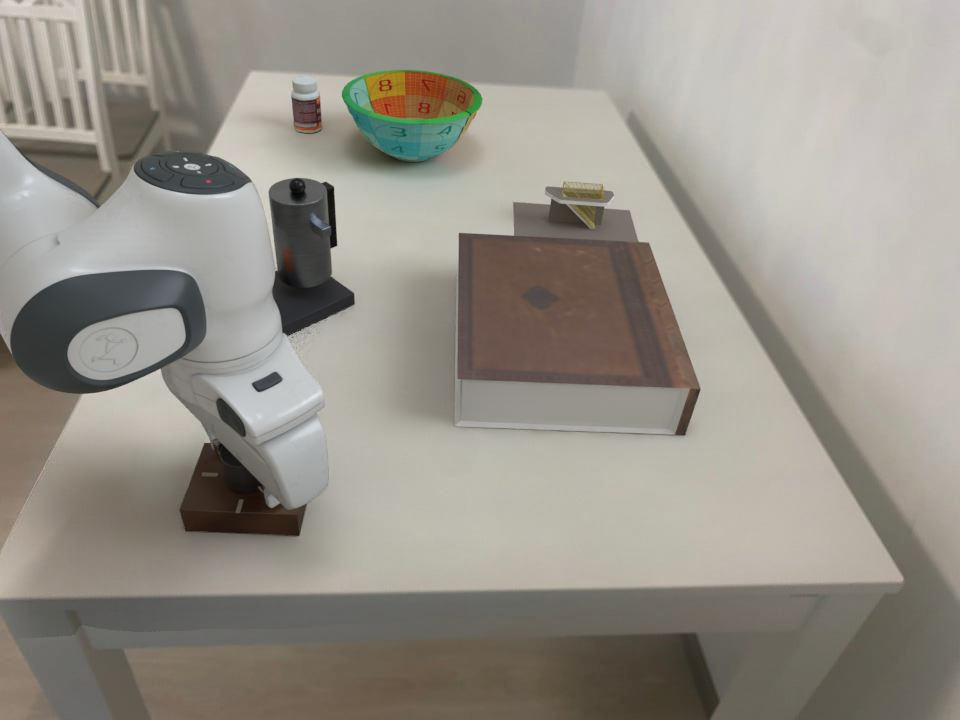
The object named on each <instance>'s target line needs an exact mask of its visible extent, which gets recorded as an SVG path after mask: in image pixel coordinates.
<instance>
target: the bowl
mask: <svg viewBox="0 0 960 720" xmlns="http://www.w3.org/2000/svg"><path fill="white" fill-rule="evenodd" d="M341 98H342V101H343V103H344V104H345V105H346V107H347V110H348V112H349V114H350V115H351V117H352V119H353V121H354V123H355V125H356V128H357V129H358V130H359V132H360V133H361V135H362V136H363V137H364V138H365V139H366V140H367V141H368V142H369V143H370V144H371V146H373V147H374V148H376V149H377V150H379V152H382V153H384V154H386V155H388V156H390V157H393V158H394V159H396V160H399V161H402V162H408V163H420V162H421V163H422V162H426V161H428V160H430V159H431V158H435V157H437V156H440V155H442V154H444V153H445V152H447V151H449V150H450V149H452V148H453V147H454V146H455V145H457V143H458V142H459V141H460V140H461V139H462V138H463V137H464V135H465V134H466V133H467V132H468V129H469V128H470V125H471V124H472V121H474V119H475V117H476V116H477V113H478V111H479V110H480V109H481V107H482V105H483V97H482V94H481V92H480V91H479V90H478V89H477V88H476V87H474V85H471V84H470V83H468V82H466V81H464V80H463V79H460V78H457V77H454V76H451V75H449V74H444V73H439V72H435V71H429V70H428V71H427V70H419V69H391V70H381V71H376V72H371V73H365V74H363V75H361V76H358V77H356V78H354V79H351V80H350V81H349V82H347V83H346V84H345V85H344V87H343V88H342V90H341Z"/></svg>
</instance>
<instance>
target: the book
mask: <svg viewBox="0 0 960 720" xmlns="http://www.w3.org/2000/svg"><path fill="white" fill-rule="evenodd" d="M457 262H458V266H457V267H458V270H457V271H458V272H457V273H458V274H457V275H456V276H455V336H454V337H455V338H454V340H455V341H454V343H455V344H454V354H455V355H454V417H453V418H454V419H453V420H454V421H453V422H454V425H453V426H454V427H459V428H483V429H484V428H485V429H513V430H537V431H538V430H539V431H566V432H567V431H568V432H592V433H617V434H618V433H619V434H620V433H622V434H646V435H647V434H649V435H670V436H671V435H673V436H674V435H676V436H686V434H687V431H688V428H689V425H690V422H691V419H692V416H693V414H694V410H695V408H696V404H697V403H698V402H697V401H698V400H699V395H700V393H701V391H702V390H701V389H702V388H701V386H700V382H699V380H698V377H697V374H696V371H695V368H694V365H693V363H692V361H691V357H690V354H689V352H688V349H687V346H686V343H685V340H684V337H683V335H682V331H681V329H680V326H679V324H678V323H679V322H678V320H677V318H676V314H675V311H674V309H673V307H672V304H671V301H670V298H669V295H668V292H667V289H666V287H665V285H664V281H663V278H662V275H661V272H660V269H659V267H658V264H657V261H656V259H655V255H654V253H653V249H652V246H651V243H650V242H646V241H645V242H644V241H638V242H628V241H609V240H589V239H570V238H550V237H531V236H515V235H510V234H509V235H507V234H492V233H490V234H489V233H472V232H471V233H470V232H458V261H457Z"/></svg>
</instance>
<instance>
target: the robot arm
mask: <svg viewBox="0 0 960 720" xmlns="http://www.w3.org/2000/svg"><path fill="white" fill-rule="evenodd" d="M275 267H276V266H275V260H274V253H273V246H272V240H271V235H270V230H269V225H268V221H267V217H266V213H265V209H264V205H263V203H262V199H261V196H260V193H259V191H258V188H257V187H256V185H255V183H254V182H253V180H252V179H251V178H250V177H249V176H248V174H246V173H244V171H242V170H241V169H240V168H239V167H237V166H236V165H234V164H233V163H231V162H229V161H228V160H226V159H224V158H221V157H219V156H215V155H211V154H207V153H203V152H200V151H191V150H165V151H160V152H156V153H155V152H154V153H153V154H148V155H146V156H143V157H141V158H139V159H137V161H135V163H134V164H133V165H132V167H131V169H130V171H129V173H128V175H127V177H126V179H125V180H124V181H123V183H122V184H121V185H120V186H119V187H118V188H117V189H116V190H115V191H114V193H113V194H112V195H111V196H110V197H109V198H108V199H107V200H106V201H105V202H104V203H103V204H101V205H100V203H99V201H97V200H96V199H95V197H94V196H93V195H92V194H91V193H90V192H88V191H87V190H86V189H85V188H83V187H82V186H81V185H79V184H78V183H76V182H74V181H72V180H71V179H69V178H67V177H65V176H63V175H61V174H59V173H58V172H56V171H53V170H51V169H50V168H47V167H45V166H44V165H42V164H40V163H38V162H36V161H34V160H33V159H31V158H30V157H29V156H27V155H25V154H24V153H23V152H22V151H21V150H20V149H19V148H18V147H17V146H16V145H15V144H14V143H13V142H12V140H10V138H9V137H8V136H7V135H6V134H5V133H4V132H3V130H2V129H1V128H0V335H1V338H2V339H3V341H4V343H5V345H6V347H7V349H8V350H9V352H10V353H11V355H12V358H13V360H14V362H15V364H16V365H17V367H18V368H19V369H20V371H21V372H22V373H23V374H24V375H25V376H26V377H28V378H29V379H30V380H31V381H33V382H34V383H36V384H38V385H39V386H41V387H44V388H47V389H49V390H53V391H55V392H60V393H64V394H65V393H66V394H74V395H87V394H88V395H89V394H97V393H98V394H99V393H102V392H103V393H104V392H107V391H111V390H113V389H114V390H115V389H118V388H120V387H123V386H125V385H128V384H130V383H133V382H135V381H138V380H139V379H142V378H144V377H146V376H148V375H150V374H152V373H155V372H156V371H159V370H160V374H161V377H162V379H163V381H164V384H165V386H166V388H167V389H168V391H169V392H170V393H171V394H172V395H173V396H174V397H175V398H176V399H177V400H178V401H179V402H180V403H181V404H182V405H183V406H184V407H185V408H186V409H187V410H188V412H189V413H191V414H192V415H193V416H194V417H195V418H196V419H197V420H198V421H199V422H200V425H201V426H202V428H203V430H204V431H205V433H206V435H207V437H208V439H209V443H210V444H211V448H212V449H213V450H214V451H215V452H216V453H217V454H218V455H219V456H220V449H221V447H222V445H224V446H225V447H226V448H227V449H228V450H229V451H230V452H231V453H232V454H233V455H234V457H235V458H236V459H237V460H238V461H239V462H240V463H241V464H242V465H243V466H244V467H245V468H246V469H247V470H248V471H249V472H250V473H251V474H252V475H253V476H254V477H255V478H256V479H257V480H258V481H259V482H260V483H261V484H262V485H260V486H258V490H259V493H260V495H259V496H260V498H261V499H262V500H263V501H264V502H265V503H266V504H267V505H268V507H270V508H273V507H275V506H277V505H278V504H280V503H281V504H282V505H283V506H284V507H285V508H286V509H288V510H293V509H296V508H298V507H301V506H303V505H304V504H306V503H307V504H308V503H310V502H312V501H313V500H315V499H316V498H317V497H319V496H320V495H322V494H323V493H324V492H325V491H326V489H327V488H328V485H329V480H330V478H329V477H330V474H329V470H330V469H329V456H328V455H329V453H328V445H327V436H326V433H325V428H324V425H323V422H322V421H321V418H320V416H319V415H318V414H317V413H319V412H320V411H321V410H323V409H324V408H325V406H326V398H325V392H324V390H323V388H322V387H321V385H320V384H319V383H318V381H317V380H316V379H315V378H314V376H313V375H312V374H311V372H310V371H309V370H308V368H307V367H306V365H305V364H304V363H303V361H301V359H300V357H299V356H298V354H297V352H296V350H295V348H294V347H293V344H292V342H291V340H290V339H289V336H287V335H286V334H285V333H283V332H282V323H281V316H280V312H279V309H278V306H277V304H276V302H275V300H274V298H273V294H272V289H273V285H274V280H275V271H276V268H275ZM307 504H306V505H307Z"/></svg>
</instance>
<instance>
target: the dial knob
mask: <svg viewBox="0 0 960 720" xmlns="http://www.w3.org/2000/svg"><path fill="white" fill-rule="evenodd" d="M220 458H221V463H222V468H223V472H224V477H225V482H226V484H227V486H228V487H229V488H230V489H231V490H233V491H235V492H237V493H252V492H256V491H258V486H260V485H262V484H261V483H260V482H259V481H258V480H257V479H256V478H255V477H254V476H253V475H252V474H251V473H250V472H249V471H248V470H247V469H246V468H245V467H244V466H243V465H242V464H241V463H240V462H239V461H238V460H237V459H236V458H235V457H234V455H233V454H232V453H231V452H230V451H229V450H228V449H227V448H226V447H225V446H224V445H222V447H221V449H220Z"/></svg>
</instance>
